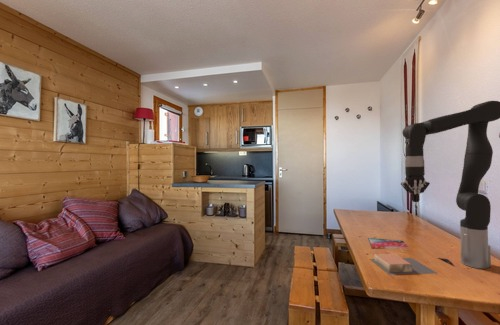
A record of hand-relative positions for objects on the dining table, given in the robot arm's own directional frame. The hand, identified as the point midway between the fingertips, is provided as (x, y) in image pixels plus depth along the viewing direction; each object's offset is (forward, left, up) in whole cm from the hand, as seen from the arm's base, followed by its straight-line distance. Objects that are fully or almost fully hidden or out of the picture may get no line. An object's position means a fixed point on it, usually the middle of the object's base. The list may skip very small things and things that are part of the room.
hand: (415, 201), depth 112 cm
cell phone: (-8, -1, -30) cm, 31 cm away
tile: (+10, +5, -26) cm, 29 cm away
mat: (+11, +5, -29) cm, 31 cm away
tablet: (0, -22, -30) cm, 37 cm away
